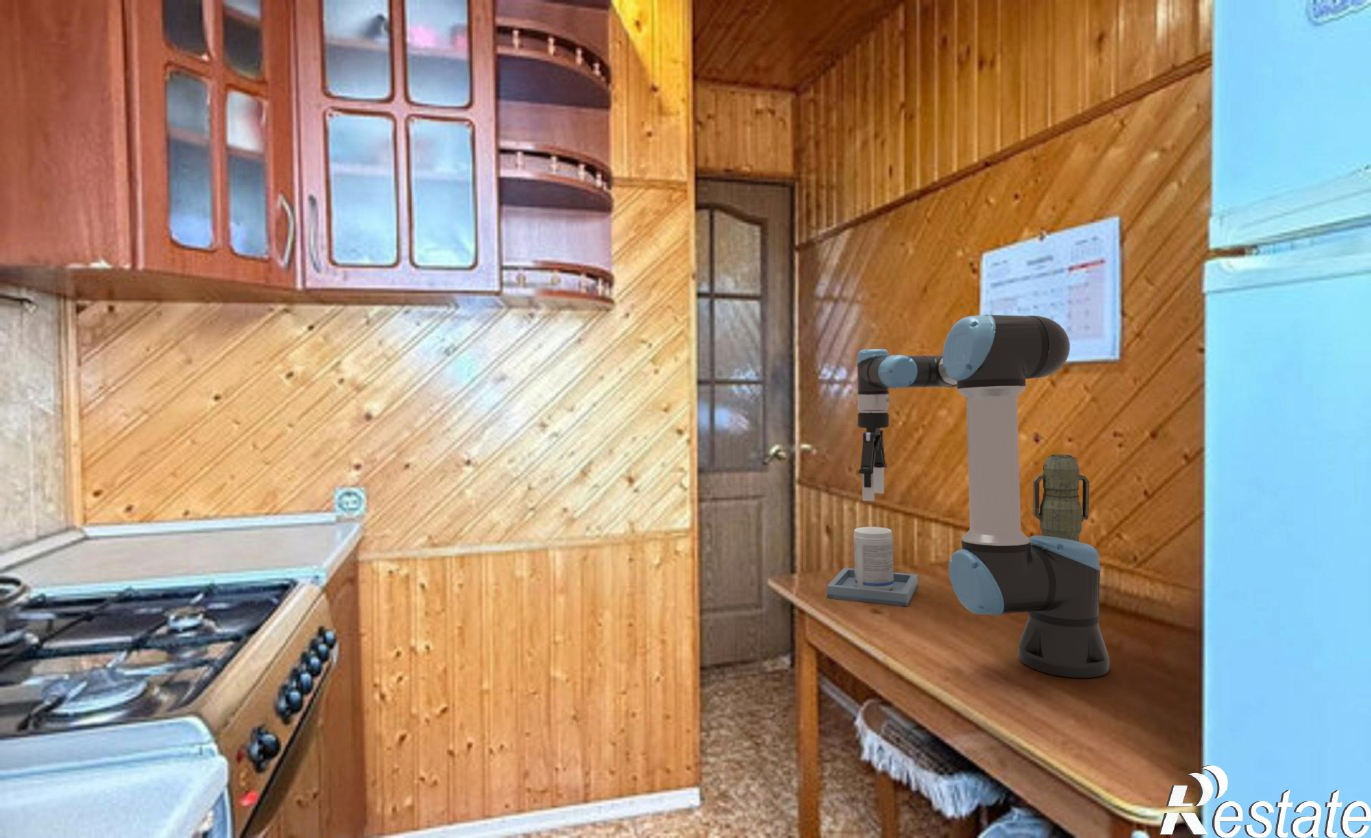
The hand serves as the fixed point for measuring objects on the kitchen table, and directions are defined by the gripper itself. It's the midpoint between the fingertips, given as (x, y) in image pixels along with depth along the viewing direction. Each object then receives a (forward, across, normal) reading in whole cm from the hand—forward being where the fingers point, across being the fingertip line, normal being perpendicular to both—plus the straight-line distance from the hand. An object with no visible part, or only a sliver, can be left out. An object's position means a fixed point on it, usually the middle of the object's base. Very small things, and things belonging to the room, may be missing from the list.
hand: (873, 496), depth 184 cm
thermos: (+24, +7, -42) cm, 49 cm away
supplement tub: (+23, 0, 0) cm, 23 cm away
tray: (+24, 0, 0) cm, 24 cm away
